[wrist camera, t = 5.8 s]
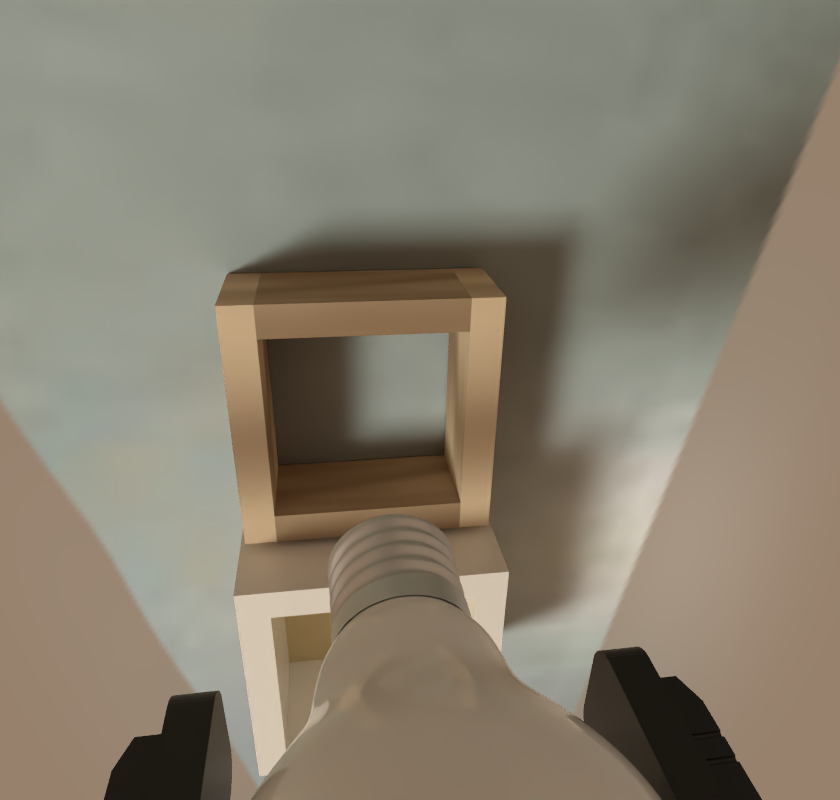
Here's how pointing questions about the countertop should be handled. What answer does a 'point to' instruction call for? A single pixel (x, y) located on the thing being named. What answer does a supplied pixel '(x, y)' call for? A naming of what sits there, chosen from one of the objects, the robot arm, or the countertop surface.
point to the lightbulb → (430, 694)
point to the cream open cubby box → (325, 623)
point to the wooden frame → (360, 316)
